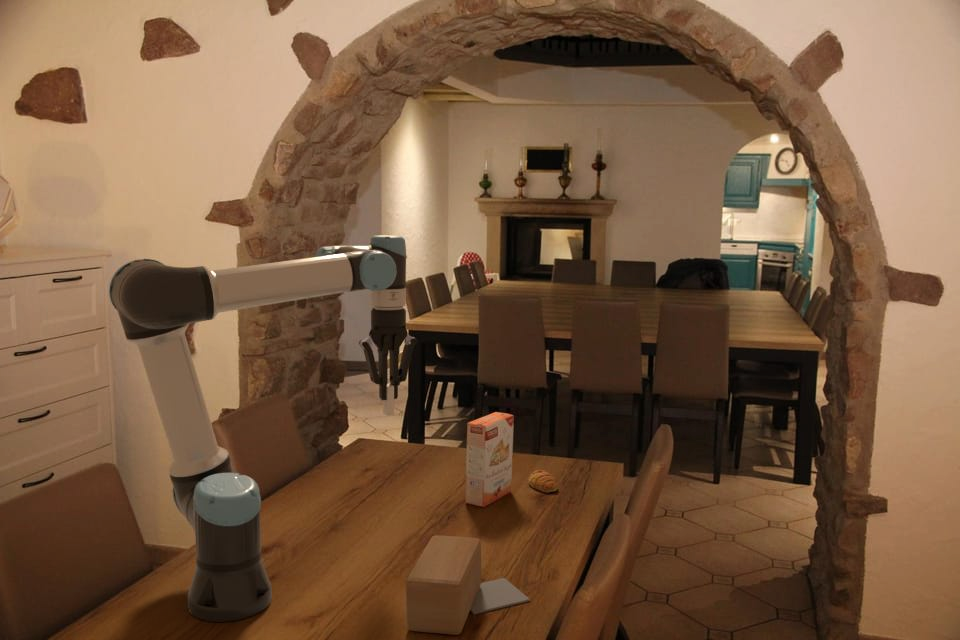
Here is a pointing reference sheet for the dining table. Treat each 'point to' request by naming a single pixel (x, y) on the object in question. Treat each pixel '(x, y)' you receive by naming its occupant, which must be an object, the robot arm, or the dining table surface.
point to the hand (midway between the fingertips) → (388, 413)
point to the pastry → (543, 481)
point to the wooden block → (444, 585)
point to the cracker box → (489, 458)
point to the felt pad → (496, 596)
